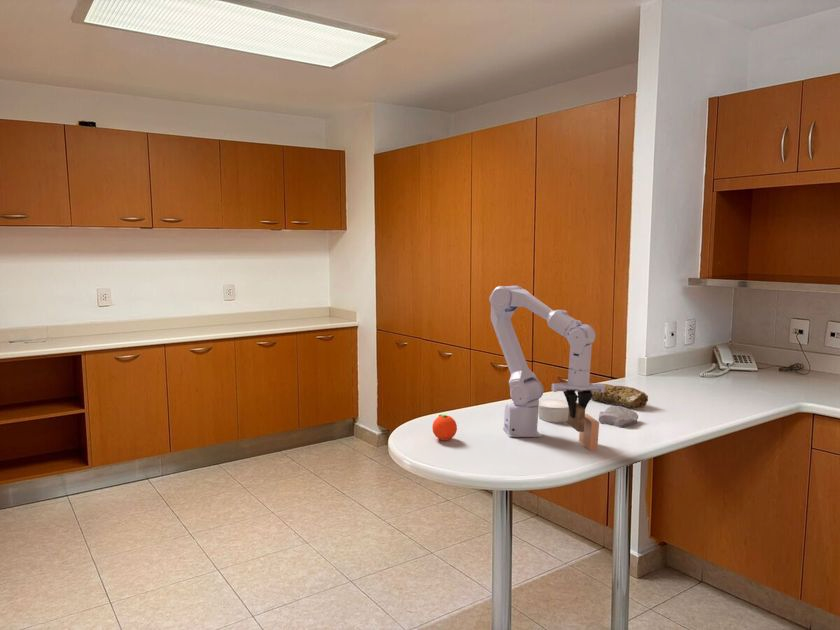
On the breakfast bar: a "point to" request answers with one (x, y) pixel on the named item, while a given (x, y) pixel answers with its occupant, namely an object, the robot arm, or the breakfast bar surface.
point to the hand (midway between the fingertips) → (576, 416)
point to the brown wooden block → (577, 418)
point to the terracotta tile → (590, 433)
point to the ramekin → (553, 410)
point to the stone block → (618, 416)
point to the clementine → (444, 427)
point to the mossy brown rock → (622, 396)
